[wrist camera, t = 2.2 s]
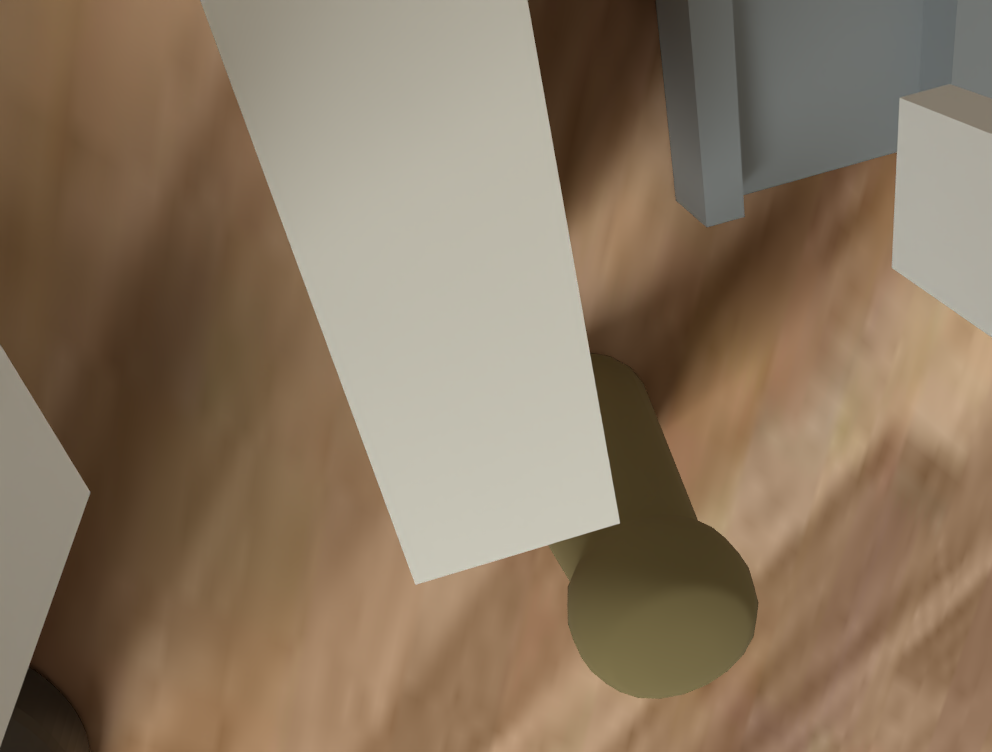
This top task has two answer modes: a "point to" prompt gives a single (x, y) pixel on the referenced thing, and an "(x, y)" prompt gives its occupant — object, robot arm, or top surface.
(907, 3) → the grey grooved stand
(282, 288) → the top surface
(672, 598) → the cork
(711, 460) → the top surface
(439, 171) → the clay block
